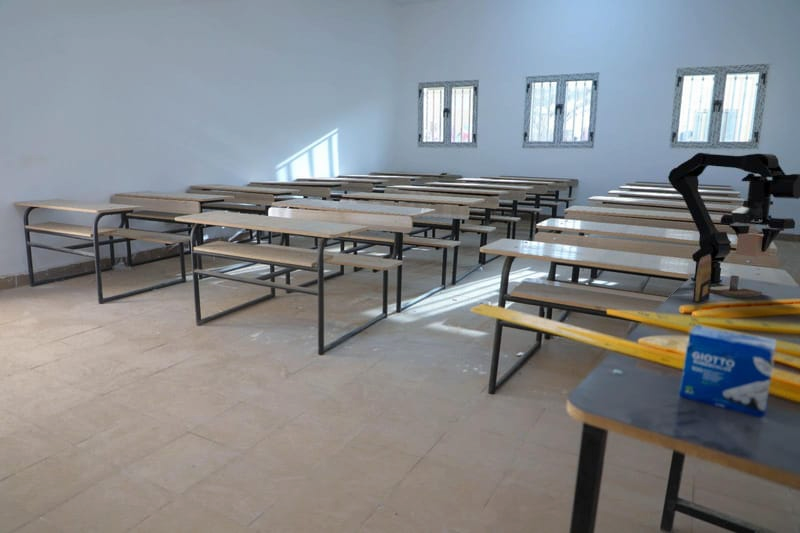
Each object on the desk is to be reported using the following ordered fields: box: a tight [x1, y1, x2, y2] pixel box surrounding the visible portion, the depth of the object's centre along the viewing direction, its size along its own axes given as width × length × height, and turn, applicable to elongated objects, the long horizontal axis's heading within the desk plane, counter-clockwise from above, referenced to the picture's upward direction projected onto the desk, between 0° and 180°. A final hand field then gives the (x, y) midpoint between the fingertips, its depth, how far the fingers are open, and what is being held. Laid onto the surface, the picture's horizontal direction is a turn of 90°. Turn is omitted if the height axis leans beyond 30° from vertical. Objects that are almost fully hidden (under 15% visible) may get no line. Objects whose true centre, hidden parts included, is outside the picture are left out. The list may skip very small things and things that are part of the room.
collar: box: [735, 232, 771, 258], centre depth 162 cm, size 6×6×6 cm
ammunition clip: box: [692, 254, 712, 304], centre depth 148 cm, size 11×2×12 cm, turn 139°
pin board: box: [710, 275, 763, 299], centre depth 157 cm, size 10×10×5 cm
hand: (752, 250), depth 162 cm, fingers closed on collar, 6 cm apart
